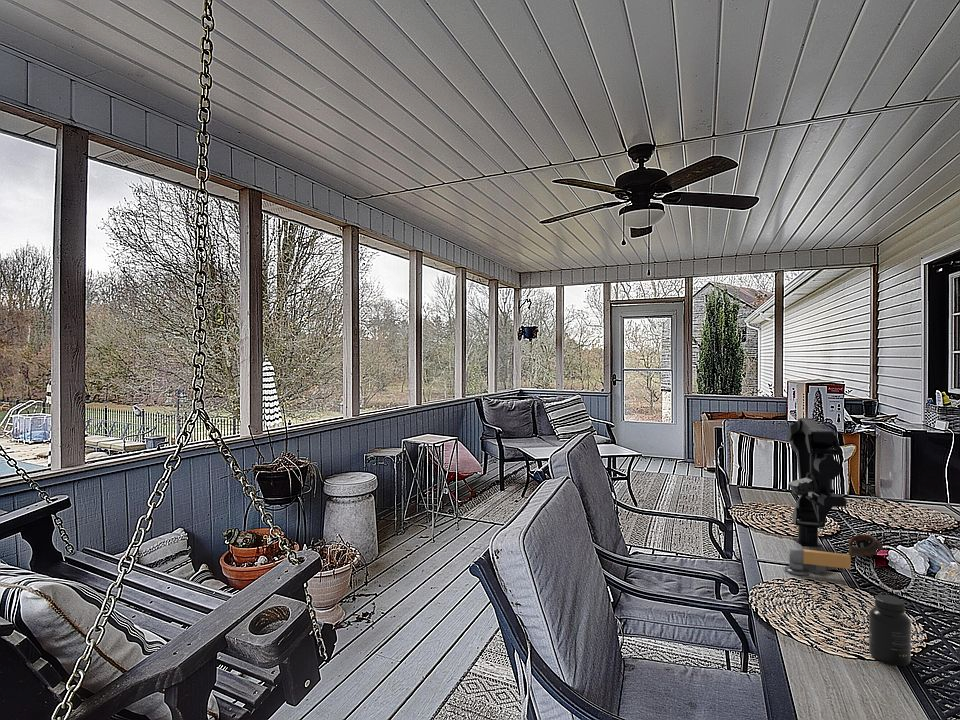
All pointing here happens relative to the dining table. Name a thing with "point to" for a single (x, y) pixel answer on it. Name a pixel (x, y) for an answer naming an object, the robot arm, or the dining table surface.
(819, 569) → the tile
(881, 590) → the dining table surface
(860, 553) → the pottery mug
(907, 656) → the supplement bottle
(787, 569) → the gray flanged disc
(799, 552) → the bar
